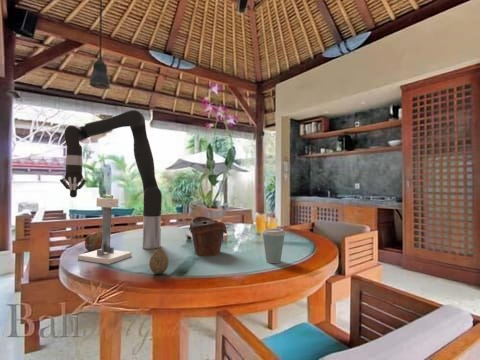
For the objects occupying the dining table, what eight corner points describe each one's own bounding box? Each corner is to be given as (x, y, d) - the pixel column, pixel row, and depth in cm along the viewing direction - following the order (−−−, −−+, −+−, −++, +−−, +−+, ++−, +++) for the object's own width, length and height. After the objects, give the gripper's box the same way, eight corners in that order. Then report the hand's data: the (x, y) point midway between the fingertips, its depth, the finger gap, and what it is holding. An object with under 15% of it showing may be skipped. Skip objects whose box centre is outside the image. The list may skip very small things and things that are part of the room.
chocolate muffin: (222, 258, 133) (222, 220, 133) (182, 255, 137) (183, 219, 137) (230, 250, 150) (231, 216, 151) (195, 248, 154) (196, 215, 155)
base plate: (77, 259, 127) (78, 249, 127) (102, 252, 140) (102, 243, 140) (108, 264, 121) (108, 254, 121) (131, 256, 134) (131, 247, 134)
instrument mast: (94, 251, 130) (96, 194, 130) (103, 249, 134) (105, 194, 134) (108, 253, 127) (110, 195, 127) (116, 251, 132) (118, 195, 132)
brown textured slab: (89, 252, 141) (89, 235, 141) (83, 252, 141) (83, 235, 141) (104, 245, 156) (104, 230, 156) (98, 245, 156) (99, 230, 156)
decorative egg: (169, 271, 113) (170, 246, 113) (165, 277, 106) (166, 250, 106) (152, 271, 113) (152, 246, 113) (146, 276, 106) (147, 250, 106)
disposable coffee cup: (266, 265, 123) (266, 231, 124) (258, 258, 134) (258, 227, 134) (288, 264, 126) (288, 230, 126) (278, 257, 137) (279, 227, 137)
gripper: (56, 163, 142) (56, 197, 142) (85, 164, 144) (84, 197, 144) (63, 164, 150) (62, 196, 149) (90, 165, 152) (89, 197, 152)
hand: (73, 197), depth 147 cm, fingers closed
